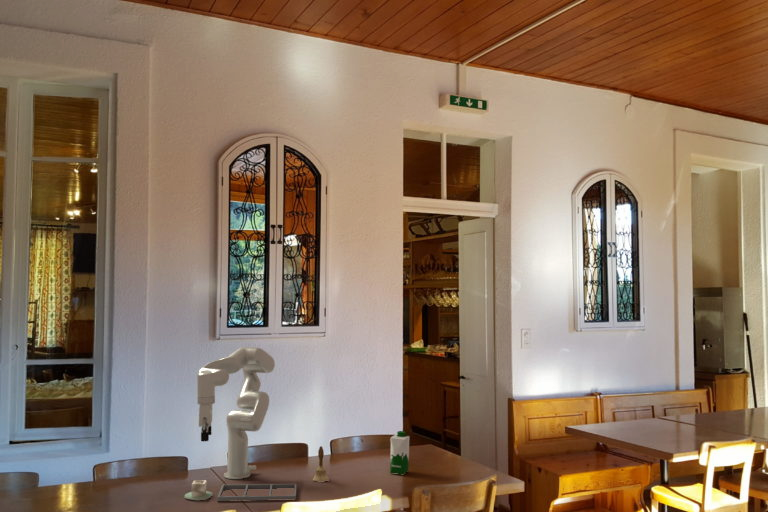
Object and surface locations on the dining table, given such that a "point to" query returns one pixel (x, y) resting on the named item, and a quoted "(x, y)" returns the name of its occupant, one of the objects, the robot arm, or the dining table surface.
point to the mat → (189, 496)
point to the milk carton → (399, 453)
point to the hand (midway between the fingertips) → (206, 437)
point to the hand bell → (320, 468)
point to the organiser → (255, 486)
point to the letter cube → (199, 488)
